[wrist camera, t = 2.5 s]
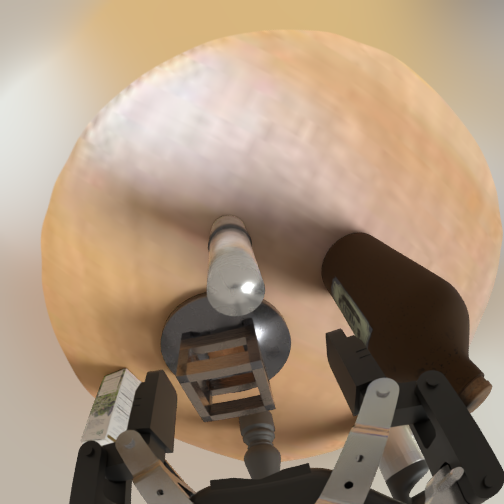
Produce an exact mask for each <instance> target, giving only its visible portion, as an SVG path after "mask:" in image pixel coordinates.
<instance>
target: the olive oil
mask: <svg viewBox="0 0 504 504" xmlns="http://www.w3.org/2000/svg"><path fill="white" fill-rule="evenodd" d="M322 278H323V282H324V284H325V286H326V288H327V290H328V291H329V293H330V294H331V296H332V297H333V299H334V301H335V302H336V304H337V305H338V307H339V309H340V310H341V312H342V314H343V315H344V317H345V319H346V321H347V322H348V324H349V326H350V327H351V329H352V331H353V333H354V334H355V336H356V337H357V338H359V339H361V340H362V341H363V343H364V344H365V346H366V347H367V349H368V350H369V352H370V353H371V355H372V356H373V358H374V359H375V361H376V362H377V364H378V365H379V367H380V368H381V370H382V371H383V373H384V374H385V376H386V377H387V378H390V379H392V380H394V381H395V382H398V383H405V382H411V381H417V380H418V378H419V376H420V375H421V374H422V373H424V372H426V371H429V370H435V371H439V372H441V373H442V374H443V375H444V376H445V377H446V378H447V380H448V381H449V383H450V384H451V386H452V387H453V388H454V390H455V391H456V393H457V394H458V396H459V397H460V399H461V400H462V402H463V403H464V405H465V406H466V408H467V409H468V411H469V413H471V412H473V411H474V410H475V409H476V408H478V407H479V406H480V405H481V404H482V403H483V401H484V400H485V399H486V398H487V396H488V395H489V393H490V392H491V389H492V385H491V384H490V382H489V381H486V380H485V379H484V373H482V372H481V370H480V369H479V368H478V367H477V366H476V365H475V364H474V363H473V362H472V361H471V360H470V359H469V355H468V351H469V350H468V349H469V314H468V310H467V307H466V305H465V303H464V301H463V299H462V298H461V296H460V294H459V293H458V292H457V290H456V289H455V288H454V287H453V286H452V285H451V284H450V283H448V282H447V281H445V280H444V279H442V278H441V277H439V276H437V275H436V274H434V273H432V272H431V271H429V270H428V269H426V268H424V267H423V266H421V265H419V264H418V263H416V262H414V261H413V260H411V259H409V258H408V257H406V256H404V255H403V254H401V253H399V252H397V251H396V250H394V249H392V248H391V247H389V246H388V245H386V244H384V243H383V242H381V241H379V240H378V239H376V238H374V237H373V236H371V235H368V234H365V233H353V234H349V235H347V236H345V237H343V238H341V239H340V240H338V241H337V242H336V243H335V244H334V245H333V246H332V247H331V248H330V250H329V251H328V253H327V255H326V257H325V259H324V262H323V266H322Z"/></svg>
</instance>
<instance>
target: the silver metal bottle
mask: <svg viewBox="0 0 504 504" xmlns="http://www.w3.org/2000/svg"><path fill="white" fill-rule="evenodd" d="M208 250H209V264H208V279H207V297H208V300H209V302H210V304H211V305H212V307H213V308H214V309H215V310H217V311H218V312H220V313H222V314H224V315H228V316H242V315H246V314H248V313H250V312H252V311H254V310H255V309H256V308H257V307H258V306H259V305H260V304H261V302H262V300H263V298H264V294H265V286H264V282H263V279H262V276H261V273H260V270H259V267H258V264H257V261H256V258H255V255H254V252H253V249H252V241H251V238H250V236H249V234H248V232H247V231H246V228H245V225H244V223H243V222H242V221H241V220H240V219H239V218H238V217H236V216H233V215H225V216H221V217H219V218H218V219H217V220H216V221H215V222H214V223H213V225H212V228H211V235H210V238H209V243H208Z"/></svg>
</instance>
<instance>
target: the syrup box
mask: <svg viewBox="0 0 504 504" xmlns="http://www.w3.org/2000/svg"><path fill="white" fill-rule="evenodd" d="M140 383H142V382H141V381H139V380H138V379H137V378H136V377H135V376H134V375H133V374H132V373H131V372H130V371H129V370H128V369H127V368H124V369H122V370H119V371H117V372H114V373H112V374H109V375H106V376H104V378H103V381H102V383H101V386H100V388H99V391H98V393H97V396H96V399H95V401H94V404H93V407H92V409H91V412H90V415H89V418H88V421H87V424H86V427H85V430H84V433H83V436H82V439H81V442H82V443H83V444H84V443H85V442H87V441H96V442H98V443H99V444H100V445H101V446H103V445H106V444H110V443H113V442H116V439H117V437H118V436H119V435H120V434H121V433H122V432H124V431H126V430H127V426H128V421H129V416H130V412H131V408H132V403H133V400H134V395H135V391H136V389H137V388H138V386H139V385H140Z"/></svg>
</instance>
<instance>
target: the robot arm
mask: <svg viewBox="0 0 504 504" xmlns="http://www.w3.org/2000/svg"><path fill="white" fill-rule="evenodd" d="M326 346H327V357H328V362H329V365H330V367H331V369H332V371H333V373H334V376H335V378H336V380H337V382H338V384H339V386H340V388H341V390H342V392H343V395H344V397H345V399H346V401H347V403H348V405H349V407H350V410H351V412H352V414H353V416H356V415H358V417H357V420H356V422H355V425H354V426H353V427H352V428H351V430H350V433H349V435H348V438H347V440H346V442H345V445H344V447H343V450H342V452H341V454H340V456H339V459H338V461H337V463H336V465H335V467H334V469H333V470H330V469H324V468H310V466H309V463H307V464H303V465H300V466H295V467H291V468H287V469H283V470H281V471H279V472H276V473H274V474H272V475H270V476H267V477H265V478H262V479H241V478H229V479H219V480H211V481H210V485H211V486H208V487H206V488H204V489H202V490H200V491H198V492H197V493H196V492H195V491H194V490H193V489H192V488H190V487H189V486H188V485H187V484H186V483H185V482H184V480H183V479H182V478H181V477H180V476H179V475H178V474H177V473H176V471H175V470H174V469H173V468H172V467H171V465H170V464H169V463H168V462H167V461H166V460H165V453H173V448H174V433H175V421H176V409H177V394H176V391H175V389H174V387H173V385H172V384H171V382H170V380H169V379H168V377H167V375H166V374H165V372H164V371H163V370H157V371H150V372H148V373H147V375H146V379H145V382H142V383H140V385H139V386H138V388H137V389H136V391H135V395H134V400H133V403H132V408H131V412H130V416H129V421H128V426H127V430H126V431H124V432H122V433H121V434H120V435H119V436H118V437H117V439H116V442H113V443H110V444H106V445H103V446H101V445H100V444H99V443H98V442H96V441H87V442H85V443H84V444H83V445H82V446H81V447H80V449H79V452H78V457H77V462H76V467H75V472H74V478H73V483H72V489H71V496H70V503H69V504H131V486H132V485H131V484H132V481H133V483H134V485H135V486H136V488H137V489H138V491H139V492H140V494H141V495H142V496H143V498H144V499H145V501H146V502H147V504H481V503H483V502H484V501H486V500H488V499H489V498H491V497H492V496H494V495H495V494H497V493H498V492H499V490H500V489H501V488H502V486H503V483H504V471H503V469H502V467H501V465H500V463H499V461H498V460H497V458H496V456H495V454H494V452H493V451H492V449H491V447H490V446H489V444H488V442H487V440H486V439H485V437H484V435H483V434H482V432H481V430H480V428H479V427H478V425H477V424H476V422H475V420H474V419H473V417H472V416H471V414H470V413H469V411H468V409H467V408H466V406H465V405H464V403H463V402H462V400H461V399H460V397H459V396H458V394H457V393H456V391H455V390H454V388H453V387H452V386H451V384H450V383H449V381H448V380H447V378H446V377H445V376H444V375H443V374H442V373H441V372H439V371H435V370H429V371H426V372H424V373H422V374H421V375H420V376H419V378H418V380H417V381H411V382H405V383H398V382H395V381H394V380H392V379H390V378H387V377H386V376H385V374H384V373H383V371H382V370H381V368H380V367H379V365H378V364H377V362H376V361H375V359H374V358H373V356H372V355H371V353H370V352H369V350H368V349H367V347H366V346H365V344H364V343H363V341H362V340H361V339H359V338H357V337H356V336H354V335H353V336H350V337H346V335H345V334H344V332H343V330H342V329H337V330H334V331H331V332H328V333H326ZM408 425H409V426H408ZM413 435H414V437H415V439H416V441H417V444H418V446H419V448H420V450H421V451H420V450H419V448H418V446H417V444H416V443H415V441H414V439H413ZM421 452H422V453H421ZM422 454H423V455H422ZM423 456H424V457H423ZM378 466H379V468H380V471H381V473H382V475H383V477H384V479H385V482H386V484H387V486H388V488H389V490H390V492H391V494H392V497H393V498H390V497H388V496H386V495H384V494H381V493H379V492H377V491H375V490H373V489H370V487H371V485H372V482H373V479H374V477H375V474H376V472H377V469H378ZM428 469H430V472H431V474H432V476H433V477H432V478H431V479H430V480H429V482H428V483H427V485H426V488H425V490H424V491H422V492H421V493H419V494H417V495H415V496H414V497H412V498H410V497H409V493H410V491H411V489H412V488H413V487H414V485H415V484H416V483H417V482H418V481H419V480H420V479H421V478H422V477H423V476H424V475H425V474H426V473H427V471H428Z"/></svg>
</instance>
